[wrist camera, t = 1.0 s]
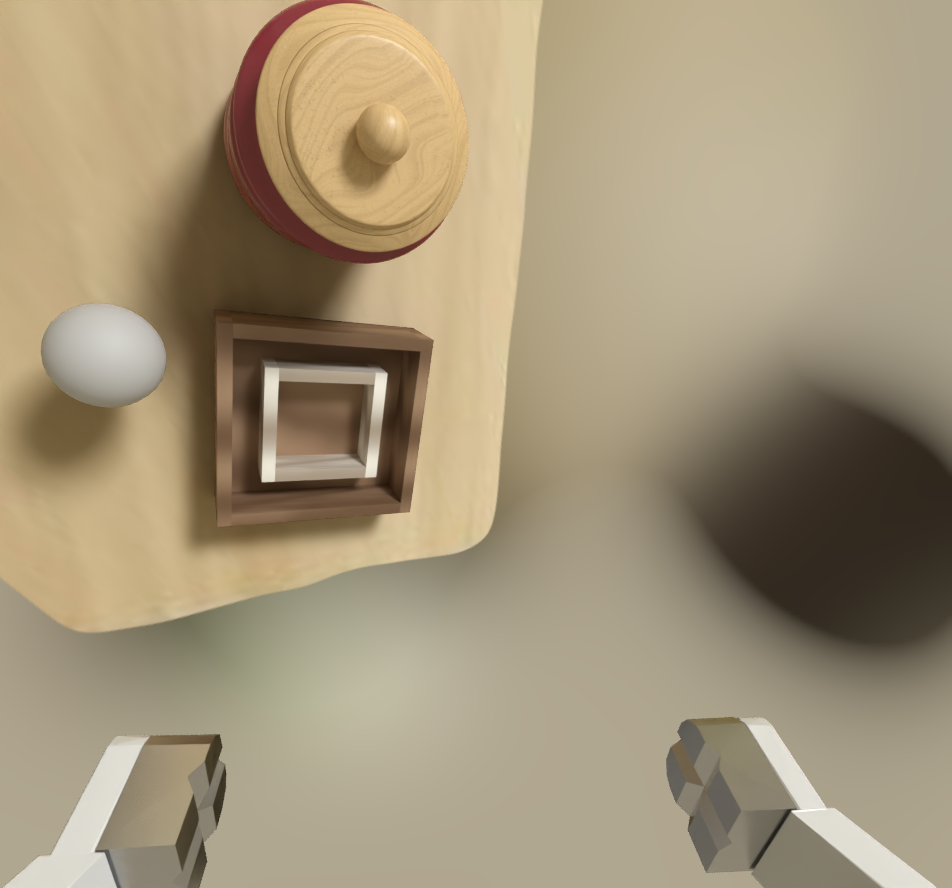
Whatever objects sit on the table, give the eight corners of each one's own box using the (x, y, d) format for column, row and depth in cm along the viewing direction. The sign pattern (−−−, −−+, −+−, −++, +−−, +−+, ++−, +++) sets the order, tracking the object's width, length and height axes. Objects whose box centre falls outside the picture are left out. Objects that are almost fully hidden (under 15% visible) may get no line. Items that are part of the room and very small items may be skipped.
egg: (78, 271, 36) (40, 296, 27) (179, 303, 39) (176, 334, 30) (60, 356, 37) (18, 406, 28) (159, 380, 40) (150, 432, 31)
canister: (267, 269, 41) (309, 308, 26) (186, 68, 34) (182, -26, 20) (420, 223, 45) (530, 235, 30) (373, 34, 38) (484, -66, 24)
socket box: (214, 309, 40) (217, 322, 36) (412, 328, 48) (433, 340, 44) (215, 497, 46) (217, 527, 42) (393, 487, 53) (409, 512, 49)
